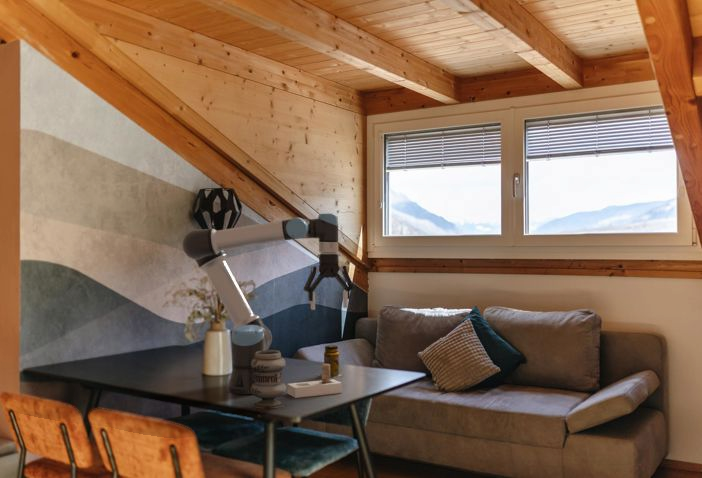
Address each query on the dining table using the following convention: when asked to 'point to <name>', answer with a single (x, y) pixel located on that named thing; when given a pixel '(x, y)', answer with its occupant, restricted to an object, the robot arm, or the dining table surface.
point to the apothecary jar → (268, 378)
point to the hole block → (314, 388)
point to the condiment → (332, 360)
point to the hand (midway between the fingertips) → (329, 308)
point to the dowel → (325, 373)
